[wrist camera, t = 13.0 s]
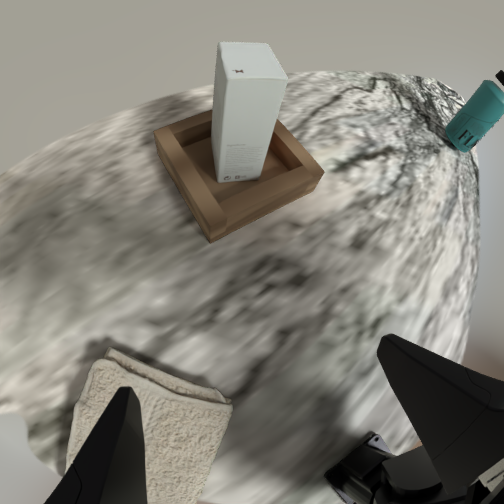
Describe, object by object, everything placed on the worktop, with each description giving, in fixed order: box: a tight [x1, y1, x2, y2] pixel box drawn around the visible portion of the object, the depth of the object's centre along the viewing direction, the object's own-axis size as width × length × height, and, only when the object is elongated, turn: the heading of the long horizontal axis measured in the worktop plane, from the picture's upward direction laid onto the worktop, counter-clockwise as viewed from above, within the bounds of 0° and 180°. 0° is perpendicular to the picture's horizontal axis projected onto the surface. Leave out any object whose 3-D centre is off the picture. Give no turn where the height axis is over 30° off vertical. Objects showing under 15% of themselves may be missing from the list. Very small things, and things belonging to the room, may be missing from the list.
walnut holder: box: [154, 110, 324, 243], centre depth 26 cm, size 12×12×4 cm
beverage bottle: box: [445, 70, 504, 152], centre depth 28 cm, size 6×7×20 cm
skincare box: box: [211, 42, 288, 183], centre depth 21 cm, size 6×4×12 cm
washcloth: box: [65, 347, 233, 504], centre depth 16 cm, size 12×18×3 cm, turn 163°
